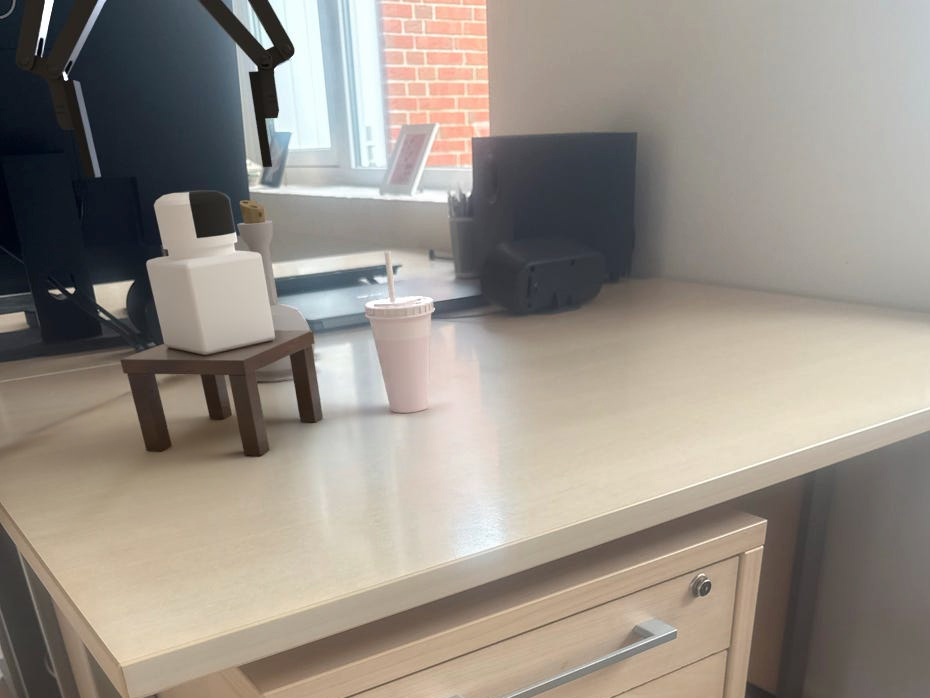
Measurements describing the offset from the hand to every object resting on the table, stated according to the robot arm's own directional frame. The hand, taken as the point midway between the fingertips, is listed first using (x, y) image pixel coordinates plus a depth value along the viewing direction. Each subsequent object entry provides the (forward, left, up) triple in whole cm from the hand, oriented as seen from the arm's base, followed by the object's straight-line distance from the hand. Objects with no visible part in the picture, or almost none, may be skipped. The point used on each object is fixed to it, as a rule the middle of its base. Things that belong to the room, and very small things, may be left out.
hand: (181, 172), depth 73 cm
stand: (0, 0, -21) cm, 21 cm away
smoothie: (+13, +10, -22) cm, 27 cm away
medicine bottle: (0, 0, -14) cm, 14 cm away
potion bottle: (-8, +22, -22) cm, 32 cm away
